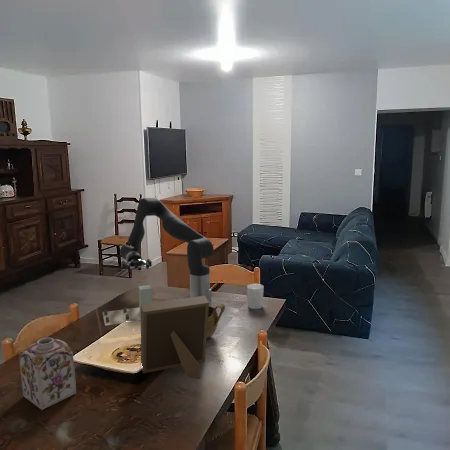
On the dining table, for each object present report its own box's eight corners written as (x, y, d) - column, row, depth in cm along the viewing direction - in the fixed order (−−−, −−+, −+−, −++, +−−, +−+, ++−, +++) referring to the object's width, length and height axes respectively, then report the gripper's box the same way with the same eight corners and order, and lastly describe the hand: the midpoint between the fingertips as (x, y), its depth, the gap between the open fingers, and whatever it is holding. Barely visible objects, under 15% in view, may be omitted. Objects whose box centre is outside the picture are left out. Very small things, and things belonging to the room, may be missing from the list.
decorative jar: (57, 381, 140) (53, 329, 137) (77, 393, 133) (73, 339, 130) (21, 397, 131) (15, 342, 128) (40, 411, 124) (35, 353, 121)
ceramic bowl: (231, 333, 175) (231, 298, 172) (215, 351, 160) (214, 313, 157) (182, 325, 183) (181, 291, 181) (162, 342, 168) (161, 305, 165)
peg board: (155, 308, 203) (154, 301, 203) (161, 320, 188) (161, 313, 188) (102, 315, 195) (102, 308, 195) (105, 328, 181) (104, 321, 180)
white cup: (245, 308, 202) (245, 288, 200) (249, 302, 209) (249, 283, 207) (261, 310, 199) (261, 289, 198) (265, 304, 207) (265, 284, 205)
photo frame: (140, 367, 148) (137, 298, 144) (200, 356, 156) (199, 290, 151) (149, 390, 135) (146, 314, 130) (214, 376, 142) (214, 305, 138)
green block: (150, 310, 197) (149, 285, 195) (152, 314, 192) (151, 288, 190) (139, 311, 195) (138, 286, 193) (141, 315, 191) (140, 289, 189)
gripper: (119, 253, 218) (123, 261, 203) (147, 251, 223) (153, 258, 208) (120, 268, 220) (124, 276, 205) (148, 265, 225) (153, 273, 209)
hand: (138, 267), depth 206 cm, fingers open, 8 cm apart
